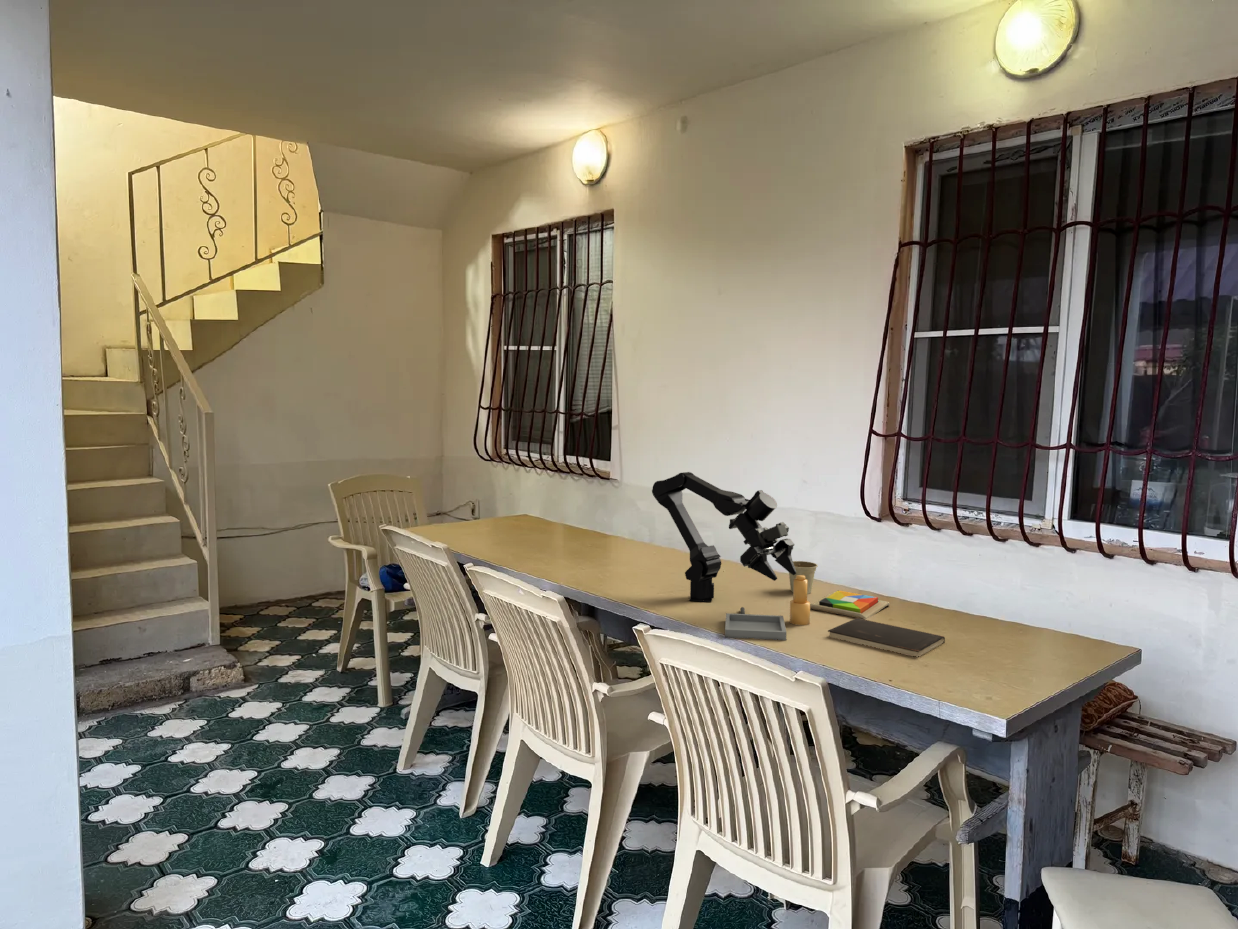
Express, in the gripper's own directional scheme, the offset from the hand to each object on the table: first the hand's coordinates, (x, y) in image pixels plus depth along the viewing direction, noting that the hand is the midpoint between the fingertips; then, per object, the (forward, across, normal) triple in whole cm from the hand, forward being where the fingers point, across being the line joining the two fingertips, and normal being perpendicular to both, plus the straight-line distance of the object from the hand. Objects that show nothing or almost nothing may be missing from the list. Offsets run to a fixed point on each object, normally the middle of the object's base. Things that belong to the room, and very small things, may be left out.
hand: (785, 577), depth 218 cm
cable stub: (+1, -6, +15) cm, 16 cm away
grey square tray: (+8, -14, +8) cm, 18 cm away
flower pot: (-1, +29, +18) cm, 34 cm away
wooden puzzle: (+13, +23, +4) cm, 27 cm away
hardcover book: (+28, +2, -11) cm, 31 cm away
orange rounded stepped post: (+11, 0, +5) cm, 12 cm away
